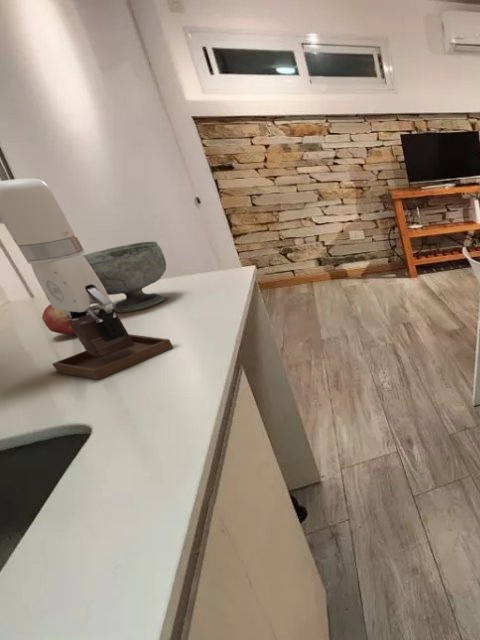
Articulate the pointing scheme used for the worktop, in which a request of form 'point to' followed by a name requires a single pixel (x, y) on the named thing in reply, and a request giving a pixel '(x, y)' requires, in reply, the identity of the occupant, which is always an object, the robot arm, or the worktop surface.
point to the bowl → (129, 273)
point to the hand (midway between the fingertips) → (103, 336)
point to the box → (98, 337)
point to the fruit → (57, 320)
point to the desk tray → (113, 358)
